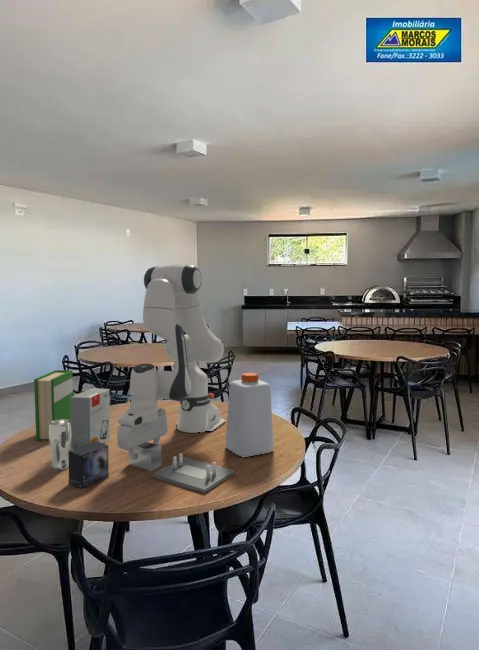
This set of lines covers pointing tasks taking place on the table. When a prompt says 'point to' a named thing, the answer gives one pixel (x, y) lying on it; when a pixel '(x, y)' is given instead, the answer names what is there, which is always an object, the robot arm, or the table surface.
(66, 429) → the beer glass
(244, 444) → the plastic bottle
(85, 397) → the hard drive box
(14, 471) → the table surface
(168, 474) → the tray
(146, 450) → the block
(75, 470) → the small box
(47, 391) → the hardback book
